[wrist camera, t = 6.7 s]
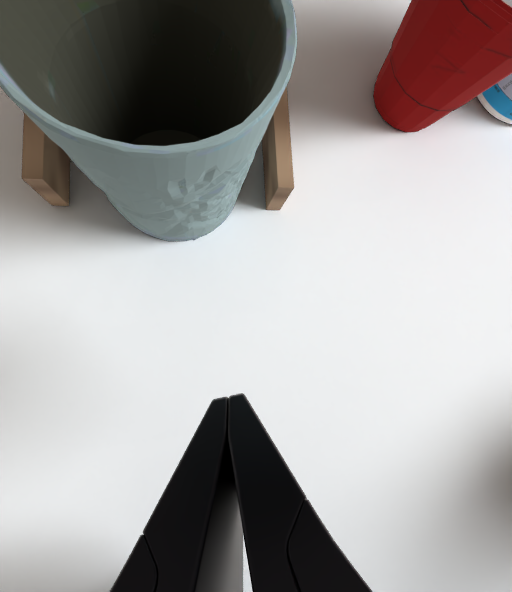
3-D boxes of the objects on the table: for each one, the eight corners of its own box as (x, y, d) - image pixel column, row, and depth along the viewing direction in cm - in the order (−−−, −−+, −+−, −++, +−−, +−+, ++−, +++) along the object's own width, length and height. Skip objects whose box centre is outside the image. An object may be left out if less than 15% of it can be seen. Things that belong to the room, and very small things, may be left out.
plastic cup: (338, 31, 26) (457, -226, 14) (453, 53, 28) (641, -155, 16) (342, 154, 24) (478, -16, 12) (462, 168, 26) (676, 33, 14)
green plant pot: (271, 212, 23) (350, 79, 11) (145, 282, 20) (73, 211, 9) (197, 94, 23) (197, -164, 11) (63, 152, 20) (-117, -95, 9)
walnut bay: (279, 210, 23) (294, 187, 19) (52, 205, 20) (21, 178, 16) (271, 83, 24) (283, 41, 20) (55, 62, 21) (27, 9, 18)
